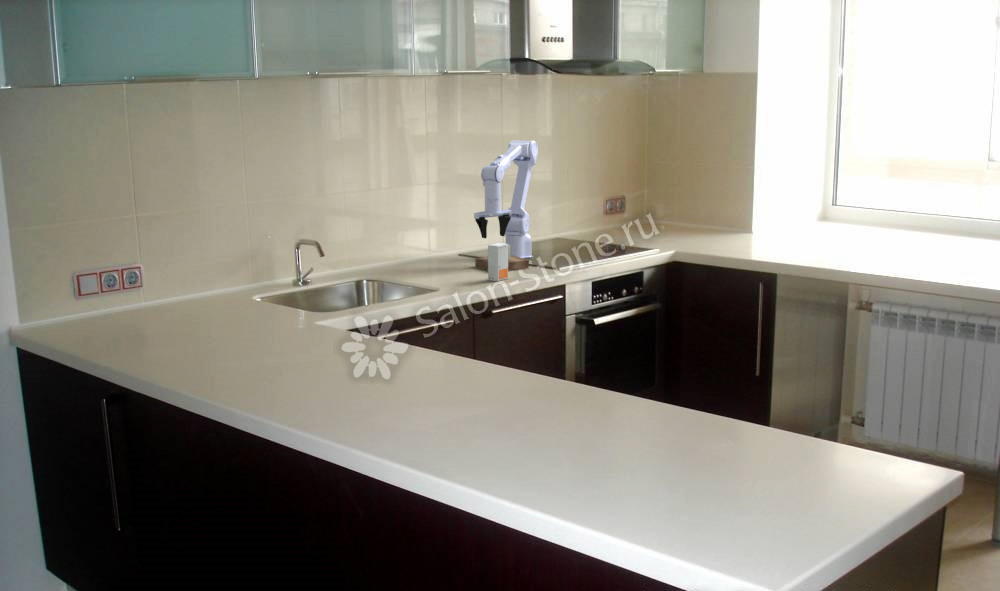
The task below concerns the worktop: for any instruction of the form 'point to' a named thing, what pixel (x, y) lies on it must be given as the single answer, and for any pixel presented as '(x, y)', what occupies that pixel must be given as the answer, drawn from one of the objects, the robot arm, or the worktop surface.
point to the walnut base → (513, 263)
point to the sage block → (509, 252)
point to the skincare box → (497, 261)
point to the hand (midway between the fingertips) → (493, 236)
